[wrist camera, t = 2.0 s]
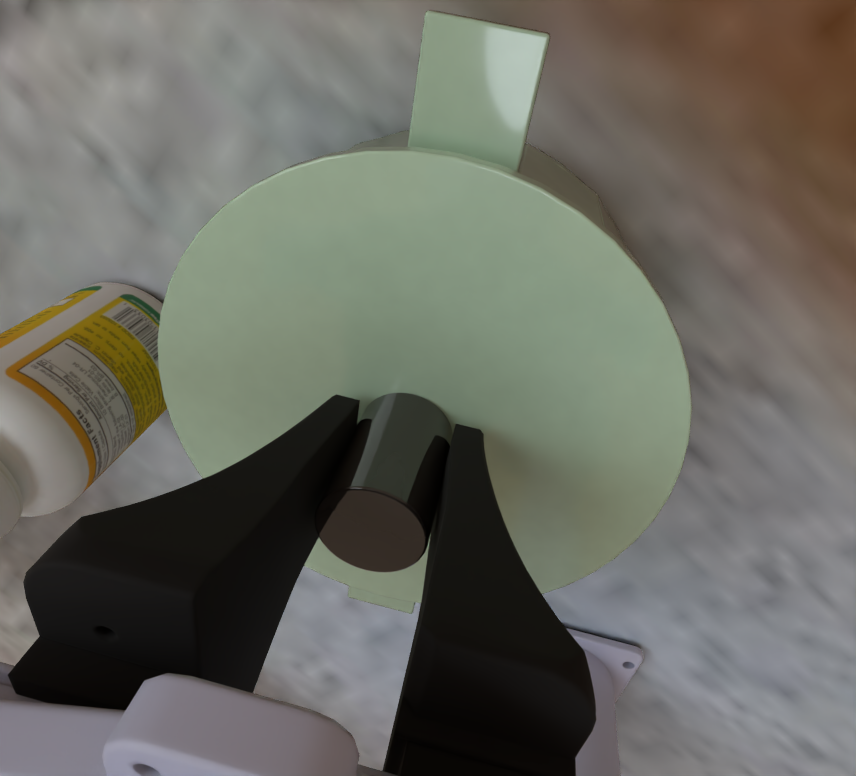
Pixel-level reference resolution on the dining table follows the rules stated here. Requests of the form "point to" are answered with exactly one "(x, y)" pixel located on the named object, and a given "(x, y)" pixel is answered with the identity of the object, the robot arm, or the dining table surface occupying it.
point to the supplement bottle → (74, 395)
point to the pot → (482, 119)
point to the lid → (431, 357)
